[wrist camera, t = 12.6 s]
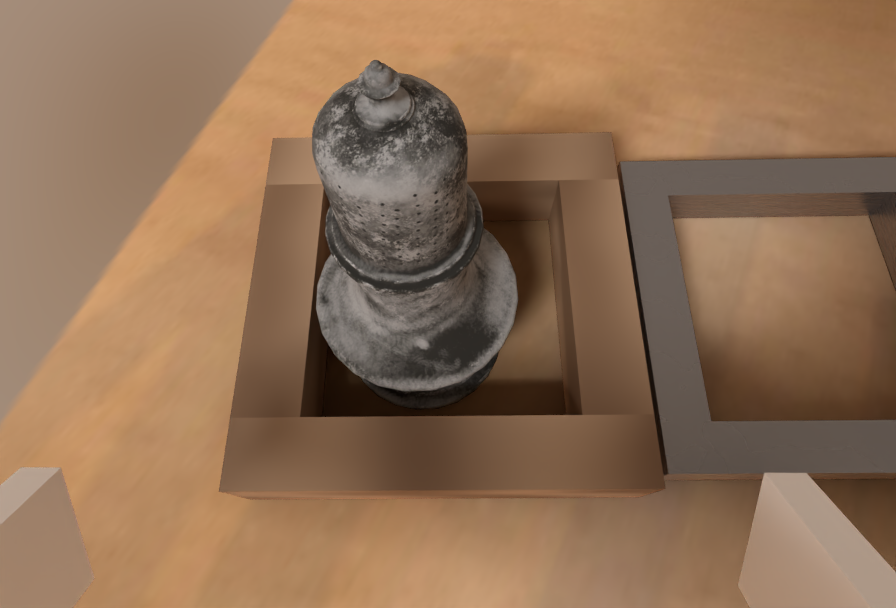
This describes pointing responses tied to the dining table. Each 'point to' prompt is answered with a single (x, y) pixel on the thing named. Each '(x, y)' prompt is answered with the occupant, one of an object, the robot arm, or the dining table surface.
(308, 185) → the walnut holder block
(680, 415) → the metal collar
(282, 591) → the dining table surface
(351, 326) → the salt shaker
